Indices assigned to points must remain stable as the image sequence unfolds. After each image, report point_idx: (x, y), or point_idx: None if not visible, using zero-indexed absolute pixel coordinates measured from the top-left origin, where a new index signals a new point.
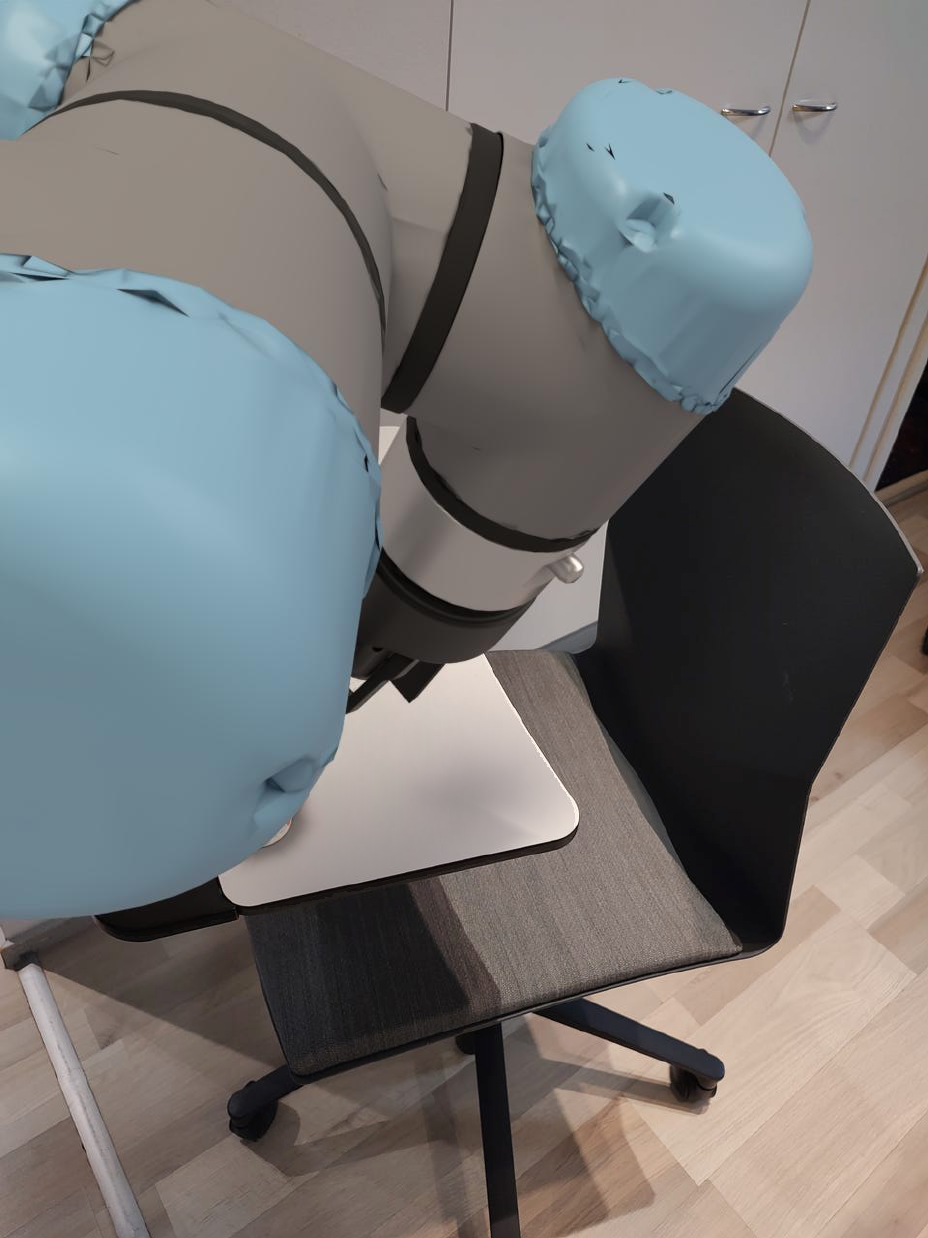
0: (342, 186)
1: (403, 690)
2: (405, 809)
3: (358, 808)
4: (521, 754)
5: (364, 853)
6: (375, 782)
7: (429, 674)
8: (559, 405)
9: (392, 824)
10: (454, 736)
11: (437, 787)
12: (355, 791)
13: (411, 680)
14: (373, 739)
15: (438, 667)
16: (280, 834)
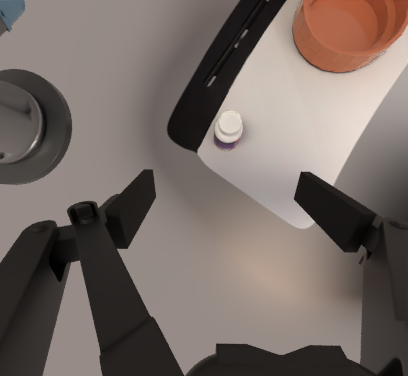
0: None
1: (298, 194)
2: (268, 176)
3: (255, 162)
4: None
5: (242, 179)
6: (269, 158)
7: (317, 221)
8: None
9: (259, 178)
10: (311, 166)
11: (285, 179)
12: (261, 155)
13: (306, 201)
14: (285, 141)
15: (327, 234)
16: (226, 150)
